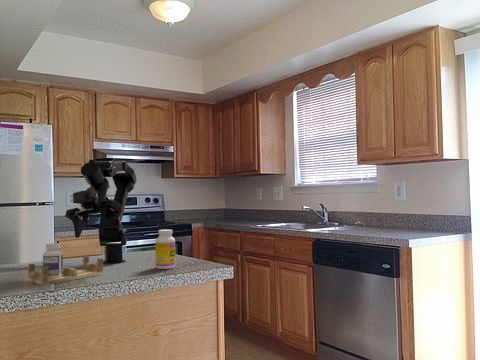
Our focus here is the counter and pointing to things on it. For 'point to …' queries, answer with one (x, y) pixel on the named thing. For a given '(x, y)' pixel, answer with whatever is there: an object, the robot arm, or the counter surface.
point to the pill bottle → (53, 260)
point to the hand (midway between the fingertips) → (88, 235)
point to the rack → (66, 272)
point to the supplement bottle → (165, 250)
